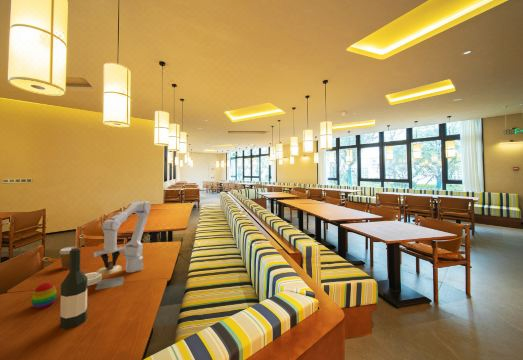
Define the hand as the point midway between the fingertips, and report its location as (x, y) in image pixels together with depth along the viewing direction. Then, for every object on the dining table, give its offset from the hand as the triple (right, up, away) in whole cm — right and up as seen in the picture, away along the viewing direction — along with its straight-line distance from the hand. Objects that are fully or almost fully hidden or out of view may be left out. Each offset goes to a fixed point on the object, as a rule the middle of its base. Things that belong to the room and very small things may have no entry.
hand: (110, 266), depth 121 cm
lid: (0, -2, 0) cm, 2 cm away
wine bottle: (+7, -10, -32) cm, 34 cm away
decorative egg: (-16, -10, -20) cm, 28 cm away
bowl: (-11, -10, +1) cm, 15 cm away
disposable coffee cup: (-41, -9, +21) cm, 47 cm away
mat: (0, -10, 0) cm, 10 cm away
